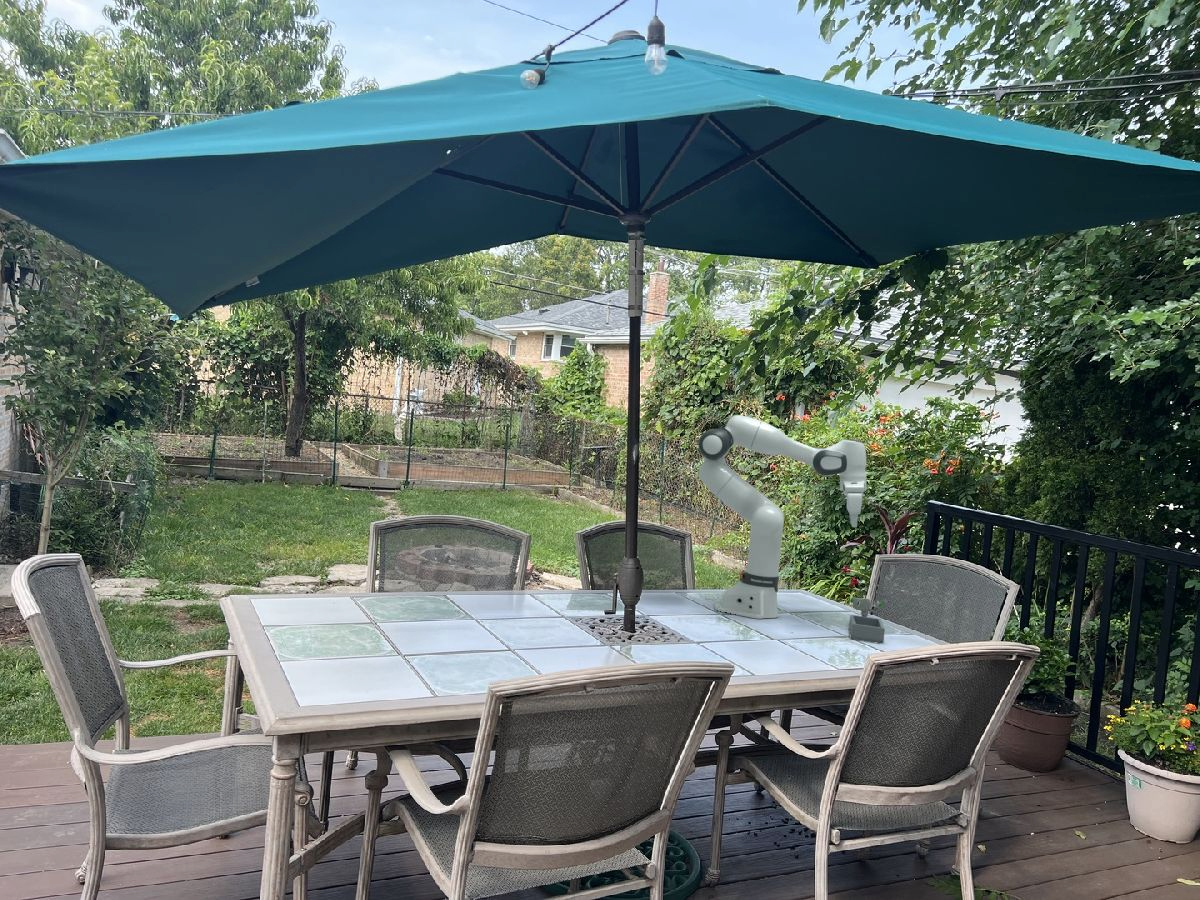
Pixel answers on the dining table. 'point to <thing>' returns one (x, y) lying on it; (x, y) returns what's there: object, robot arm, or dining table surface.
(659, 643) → the dining table surface
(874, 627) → the bin
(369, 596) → the dining table surface
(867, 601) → the mechanical component
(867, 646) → the dining table surface
